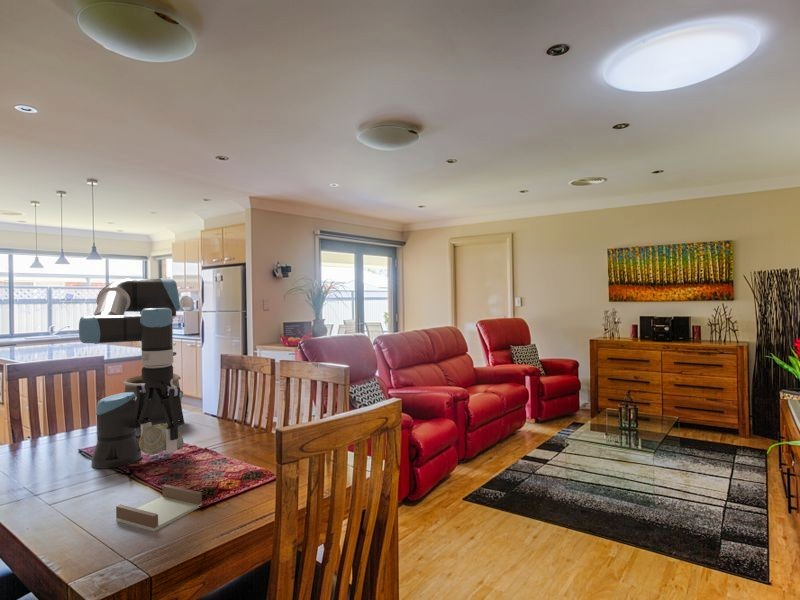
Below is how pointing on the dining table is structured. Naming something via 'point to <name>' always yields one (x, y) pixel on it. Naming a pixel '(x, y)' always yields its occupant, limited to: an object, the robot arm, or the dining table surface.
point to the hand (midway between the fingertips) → (159, 449)
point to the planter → (135, 381)
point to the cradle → (161, 508)
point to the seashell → (156, 439)
